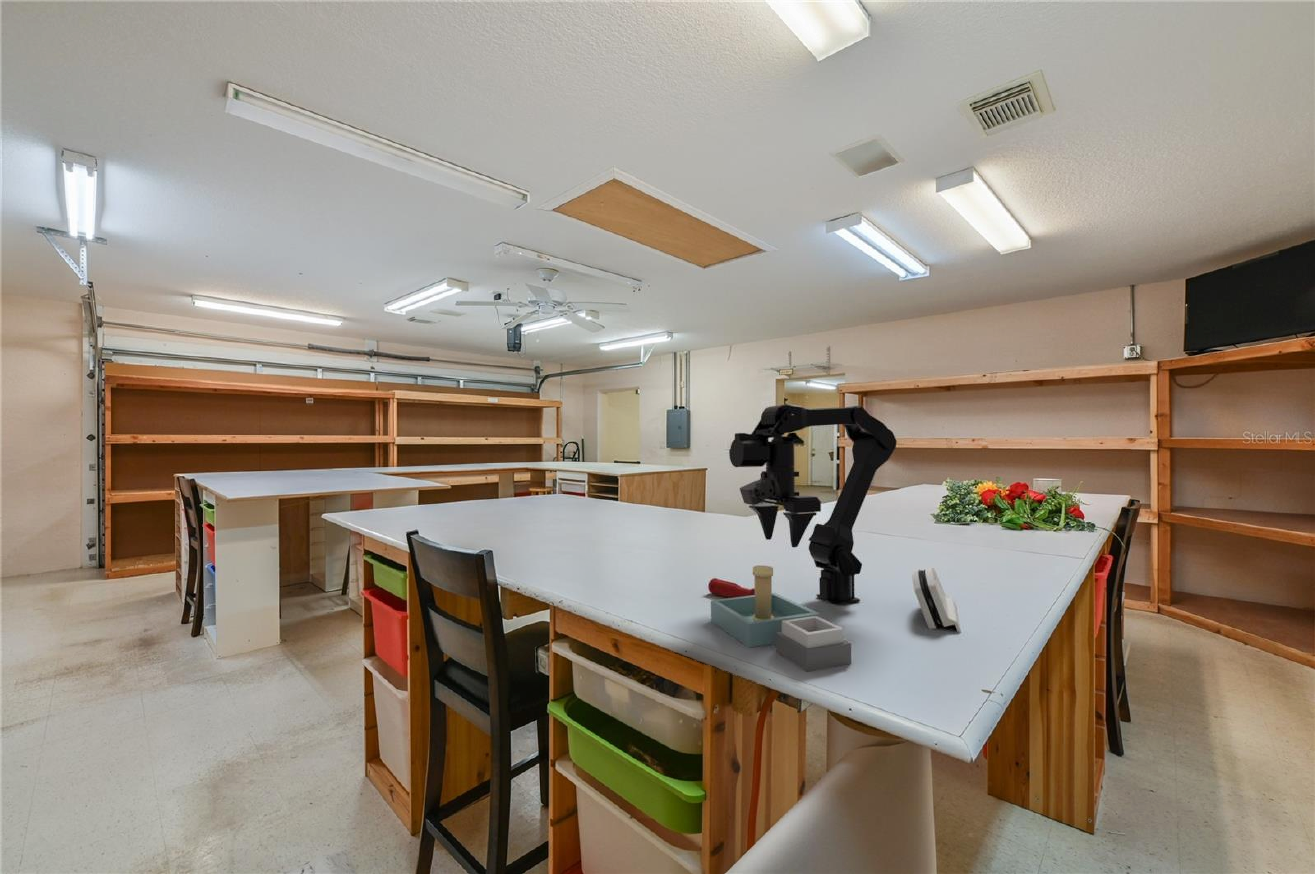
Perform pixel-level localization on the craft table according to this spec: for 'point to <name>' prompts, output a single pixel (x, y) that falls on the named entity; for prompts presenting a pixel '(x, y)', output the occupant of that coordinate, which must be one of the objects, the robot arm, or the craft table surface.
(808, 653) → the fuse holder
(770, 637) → the parts tray
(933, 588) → the whiteboard eraser
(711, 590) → the red tapered rod
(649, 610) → the craft table surface
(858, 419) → the robot arm
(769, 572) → the cylinder
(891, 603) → the craft table surface
